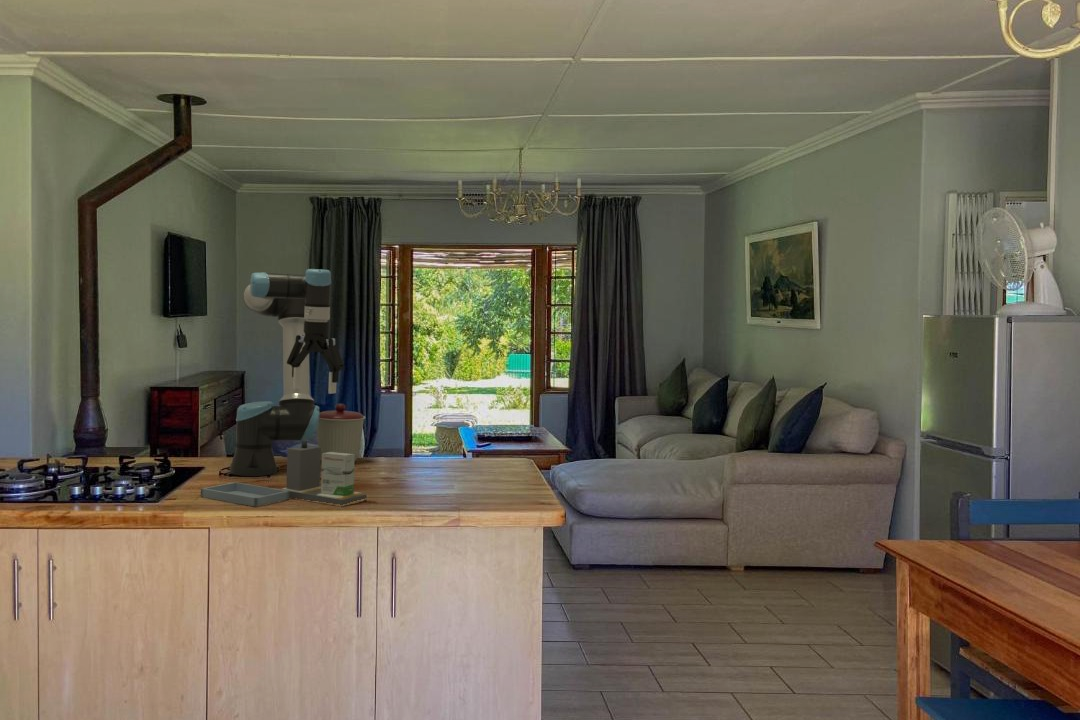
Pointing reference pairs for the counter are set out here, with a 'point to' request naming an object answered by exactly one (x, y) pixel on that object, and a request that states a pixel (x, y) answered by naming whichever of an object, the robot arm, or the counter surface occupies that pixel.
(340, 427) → the canister
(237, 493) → the tray
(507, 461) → the counter surface
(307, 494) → the board with cream panels
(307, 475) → the dark grey tall block
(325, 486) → the ink box
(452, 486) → the counter surface
